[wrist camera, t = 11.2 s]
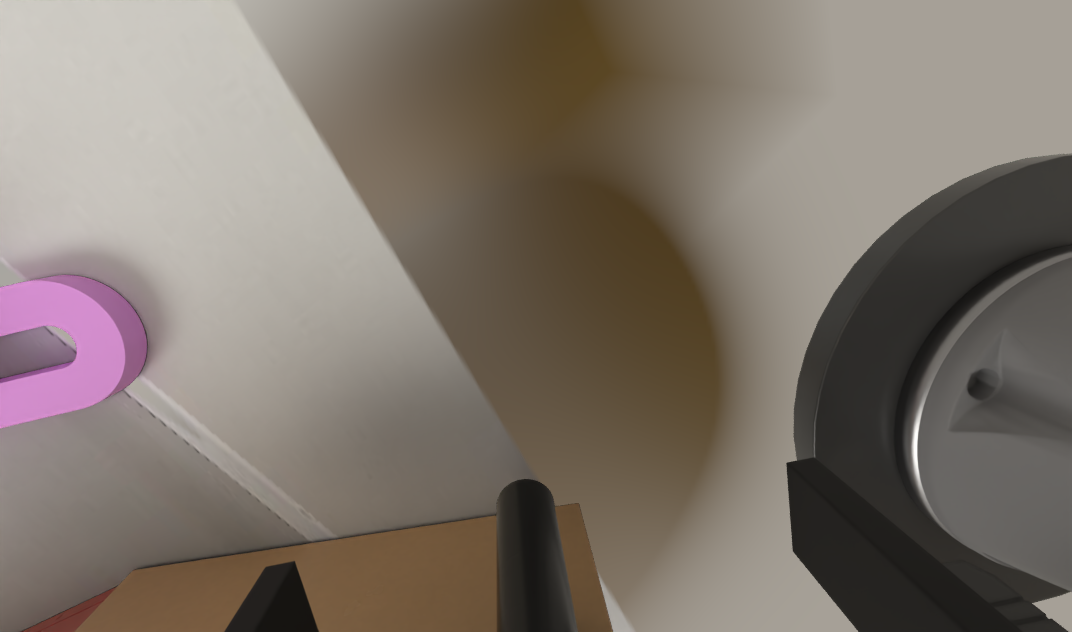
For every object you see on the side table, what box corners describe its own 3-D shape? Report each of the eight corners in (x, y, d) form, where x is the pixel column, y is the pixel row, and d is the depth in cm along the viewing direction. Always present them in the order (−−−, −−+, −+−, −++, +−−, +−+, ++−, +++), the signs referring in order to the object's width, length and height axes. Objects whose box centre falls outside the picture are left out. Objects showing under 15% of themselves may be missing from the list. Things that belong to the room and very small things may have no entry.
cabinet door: (92, 459, 24) (-630, 937, 8) (566, 392, 25) (679, 714, 9) (139, 586, 25) (-394, 1176, 10) (580, 519, 26) (696, 966, 11)
